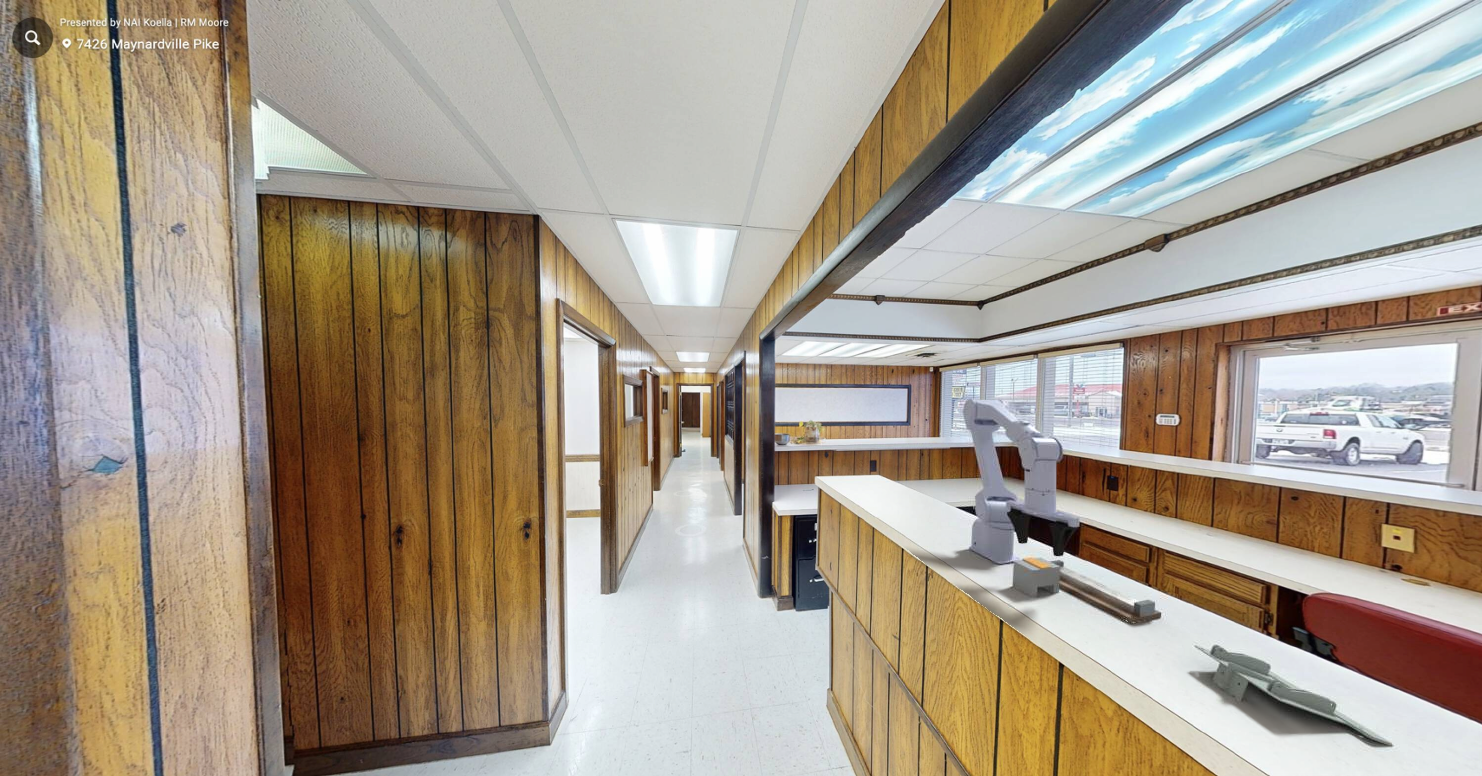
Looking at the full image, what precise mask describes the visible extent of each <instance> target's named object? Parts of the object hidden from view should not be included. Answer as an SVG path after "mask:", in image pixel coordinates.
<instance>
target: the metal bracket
mask: <svg viewBox="0 0 1482 776" xmlns="http://www.w3.org/2000/svg"><path fill="white" fill-rule="evenodd" d="M1194 647H1195V648H1196V649H1197V650H1200V651H1201V652H1202V653H1204V654H1205V655H1207V656H1208V657H1210V658H1211V659H1213V660H1214V661H1216V662H1218V663H1219V664H1218V666H1217V669H1216V671H1215V673H1214V676H1213V679H1212V683H1213V684H1215V685H1216V686H1218V687H1219V688H1220V689H1221V690H1223V691H1224V692H1226V693H1227V694H1229V695H1230V696H1234V699H1237V701H1239V702H1240V701H1241V700H1242V699H1243V697H1244V694H1245V691H1246V689H1247V686H1248V684H1249V683H1251V684H1252V685H1254V686H1255V687H1257V688H1258V689H1260V690H1261V691H1262V692H1265V693H1266V694H1268V695H1269V696H1271V697H1272V698H1274V699H1275V700H1277V701H1279V702H1281V703H1285V704H1287V705H1290V706H1293V707H1296V708H1298V709H1301V710H1305V711H1307V712H1309V713H1312V714H1315V715H1318V716H1321V717H1324V718H1327V719H1329V720H1332V721H1335V722H1338V723H1341V724H1344V725H1346V726H1348V727H1350V728H1352V729H1354V730H1355V731H1357V732H1359V733H1360V734H1362V735H1363V736H1365V737H1367V738H1369V739H1370V740H1374V741H1376V742H1379V743H1382V744H1384V745H1387V746H1391V747H1394V744H1393V743H1392V742H1390V741H1389V740H1387V739H1386V738H1384V737H1382V736H1381V735H1379V734H1378V733H1375V732H1374V731H1373V730H1371V729H1369V728H1368V727H1366V726H1364V725H1362V724H1361V723H1359V722H1357V721H1355V720H1354V719H1352V718H1350V717H1349V716H1347V715H1345V714H1343V713H1342V712H1341V711H1338V710H1337V709H1336V708H1337V703H1336V702H1335V701H1334V700H1331V699H1330V698H1329V697H1325V696H1323V695H1320V694H1317V693H1315V692H1311V691H1308V690H1306V689H1301V688H1300V687H1298V686H1296V685H1295V684H1293V683H1292V682H1290V681H1288V680H1286V679H1284V678H1283V677H1281V676H1280V675H1278V674H1277V673H1274V672H1273V671H1271V668H1272V667H1271V665H1270V664H1269V663H1267V662H1266V661H1264V660H1261V659H1259V658H1257V657H1254V656H1251V655H1248V654H1246V653H1243V652H1231V651H1228V650H1226V649H1225V648H1224V647H1222V646H1220V645H1219V644H1214V645H1212V646H1211V649H1207V648H1205V647H1202V646H1198V645H1194Z"/></svg>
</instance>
